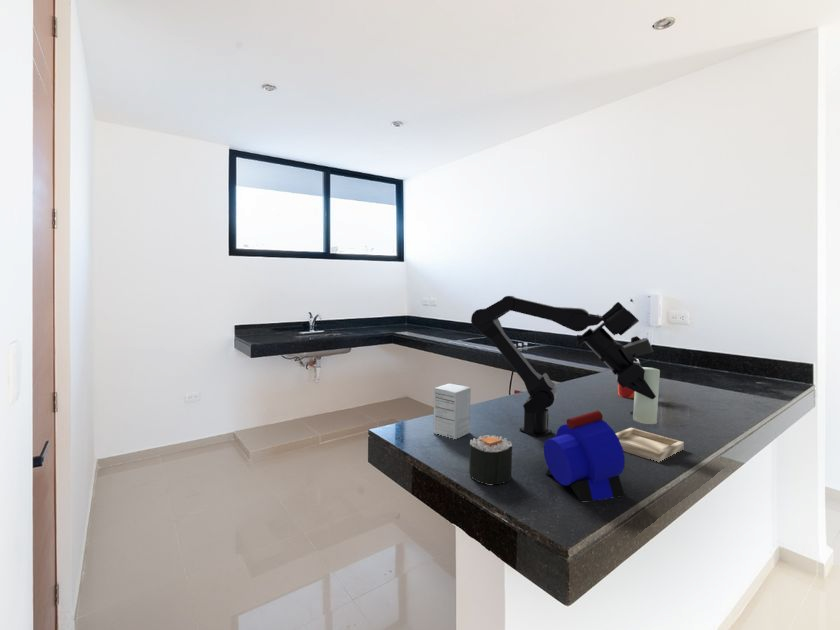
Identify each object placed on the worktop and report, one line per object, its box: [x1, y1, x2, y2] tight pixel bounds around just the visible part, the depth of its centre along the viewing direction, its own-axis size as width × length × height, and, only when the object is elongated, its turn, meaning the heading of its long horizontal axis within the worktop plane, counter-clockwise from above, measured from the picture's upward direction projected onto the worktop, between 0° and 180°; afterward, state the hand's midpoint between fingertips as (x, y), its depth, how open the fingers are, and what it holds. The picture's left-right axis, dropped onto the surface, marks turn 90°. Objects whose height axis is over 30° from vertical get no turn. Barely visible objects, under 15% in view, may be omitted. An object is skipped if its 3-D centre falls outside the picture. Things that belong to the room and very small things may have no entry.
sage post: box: [632, 366, 661, 425], centre depth 103 cm, size 5×5×13 cm
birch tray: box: [615, 427, 685, 463], centre depth 104 cm, size 13×13×2 cm
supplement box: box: [433, 383, 472, 440], centre depth 111 cm, size 7×7×13 cm
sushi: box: [468, 434, 513, 485], centre depth 86 cm, size 8×8×8 cm
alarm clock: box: [543, 410, 626, 502], centre depth 83 cm, size 12×12×15 cm
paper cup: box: [617, 358, 641, 399], centre depth 154 cm, size 8×8×14 cm
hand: (652, 395), depth 103 cm, fingers closed on sage post, 5 cm apart
